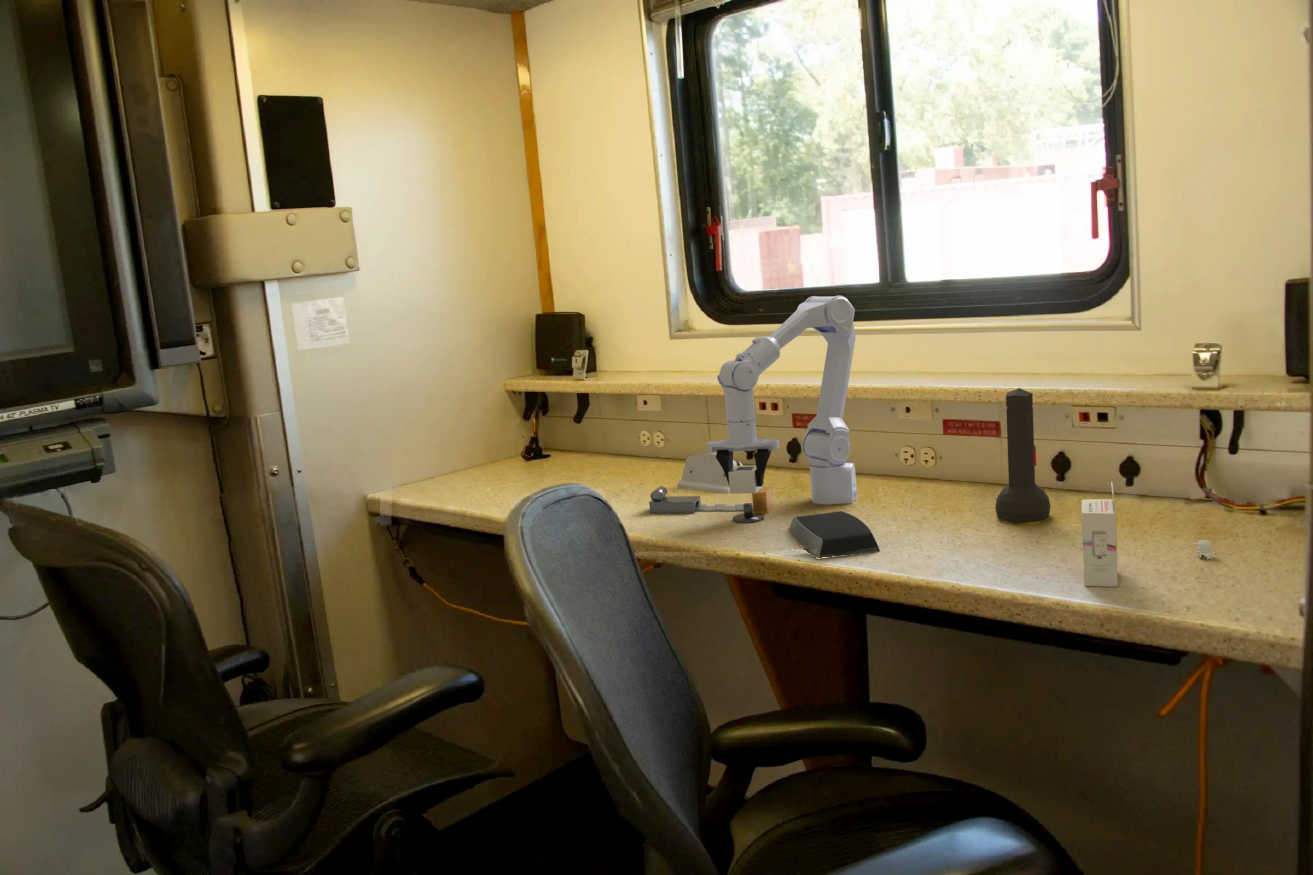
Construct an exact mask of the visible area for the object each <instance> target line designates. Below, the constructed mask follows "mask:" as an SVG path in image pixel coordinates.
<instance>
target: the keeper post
mask: <svg viewBox="0 0 1313 875" xmlns="http://www.w3.org/2000/svg"><path fill="white" fill-rule="evenodd" d="M742 504H743V509H744V510H743V513H739V514H736V515H734V516H733V517H732V521H733V522H734V523H736V524H737V523H738V524H753V523H754V524H755V523H758V522H762V521H763V520H764V519H765V514H764V513H753V510H752V506H753V502H745V503H742Z"/></svg>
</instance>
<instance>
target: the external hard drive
mask: <svg viewBox="0 0 1313 875" xmlns="http://www.w3.org/2000/svg"><path fill="white" fill-rule="evenodd" d="M791 520H792V521H791V523H790V525H789V531H790V532H791V534H792V535H793V537H794V538H795V540H796V541H797V542H799V543H800V545H802V546H804V548H803V549H804V550H806V551H807V552H808V553H810V554H811V555H813V556H815V557H817V558H822V557H832V556H841V555H848V556H852V555H851V554H855V555H860V553H863V554H870V553H876V552H875V551H878V552H880V551H881V550H880V547H879V545H878V542H877V541H876V538H875V536H874V535H873V532H872V530H871V529H870V528H869V527H868V526H867V525H866V524H865V523H864V521H862V520H861V519H860V518H858V517H856V516H854V515H853V514H850V513H848V512H846V511H842V510H839V511H831V512H826V513H817V514H809V515H801V516H794V517H793V518H792V519H791ZM804 550H803V551H804ZM806 551H805V552H806ZM807 552H806V553H807ZM808 553H807V554H808ZM810 554H809V555H810ZM811 555H810V556H811ZM813 556H812V557H813ZM815 557H814V558H815ZM841 557H842V556H841Z"/></svg>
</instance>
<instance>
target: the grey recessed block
mask: <svg viewBox="0 0 1313 875" xmlns="http://www.w3.org/2000/svg"><path fill="white" fill-rule="evenodd" d="M728 474H729V486H730V493H729V494H733V495H734V494H752V493H757V492H758V491H759V490H760V489H761V488H762V487H763V485H762V486H761V487H758V484H757V469H756V464H755V465H743V466H734V467H733V468H732V469H731V470H730V471H729V472H728Z"/></svg>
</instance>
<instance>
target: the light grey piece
mask: <svg viewBox="0 0 1313 875" xmlns="http://www.w3.org/2000/svg"><path fill="white" fill-rule="evenodd" d="M716 455H717V452H715V453H714V452H705V453H697V454H694V455H690V456H689V457H688V456H687V458H686V459H685V464H684V466H683V467H684V468H683V471H682V476H681V480H679V482H678V483H677V486H676V489H678V490H679V489H680V490H682V489H685V490H687V489H688V490H689V489H690V490H698V491H704V492H705V491H706V492H714V493H723V494H730V487H729V485H728V481H727V478H726V475H725V473H724V471H723V469H722V467H721V465H720V463H719V462H718V460H717V459H716ZM734 466H744V465H743V463H742V462H740V461H738V460H737V459H734V458H733V467H734Z"/></svg>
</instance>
